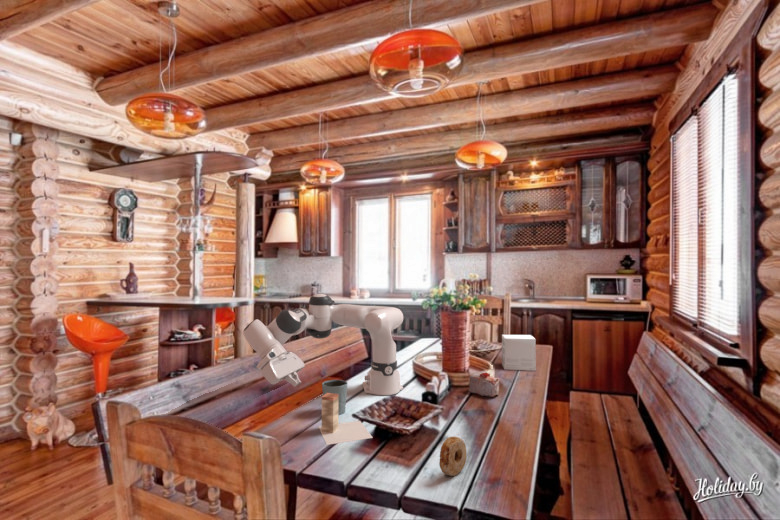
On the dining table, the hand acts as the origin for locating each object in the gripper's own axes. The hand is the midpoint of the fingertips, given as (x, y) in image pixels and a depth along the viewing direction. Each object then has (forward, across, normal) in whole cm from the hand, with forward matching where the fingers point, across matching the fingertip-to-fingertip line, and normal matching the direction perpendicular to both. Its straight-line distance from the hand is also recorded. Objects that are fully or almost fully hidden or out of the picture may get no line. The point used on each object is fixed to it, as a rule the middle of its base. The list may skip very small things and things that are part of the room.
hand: (297, 384), depth 150 cm
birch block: (+20, -1, -2) cm, 20 cm away
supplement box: (+66, -113, +44) cm, 139 cm away
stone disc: (+53, +15, +31) cm, 63 cm away
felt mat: (+24, 0, +2) cm, 24 cm away
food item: (+56, -59, +33) cm, 88 cm away
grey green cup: (+16, -17, -6) cm, 24 cm away
